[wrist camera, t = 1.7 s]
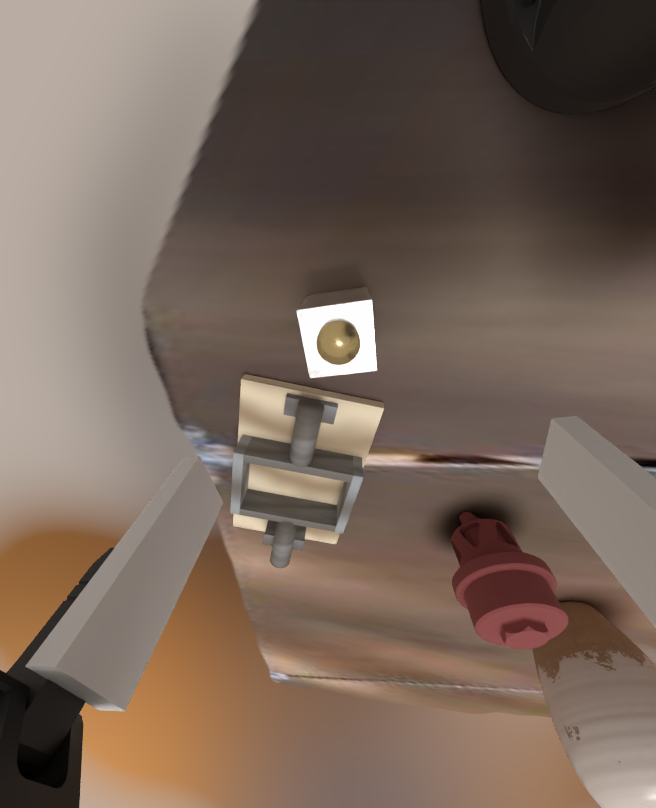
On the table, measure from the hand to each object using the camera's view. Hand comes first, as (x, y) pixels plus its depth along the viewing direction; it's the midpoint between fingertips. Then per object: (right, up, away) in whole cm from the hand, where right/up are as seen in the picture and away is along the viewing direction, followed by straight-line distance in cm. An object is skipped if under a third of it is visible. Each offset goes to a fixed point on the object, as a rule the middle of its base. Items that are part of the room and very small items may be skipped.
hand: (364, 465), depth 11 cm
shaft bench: (-5, -5, +23) cm, 24 cm away
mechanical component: (+18, -13, +26) cm, 34 cm away
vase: (+37, -32, +36) cm, 61 cm away
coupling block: (0, +10, +14) cm, 17 cm away
